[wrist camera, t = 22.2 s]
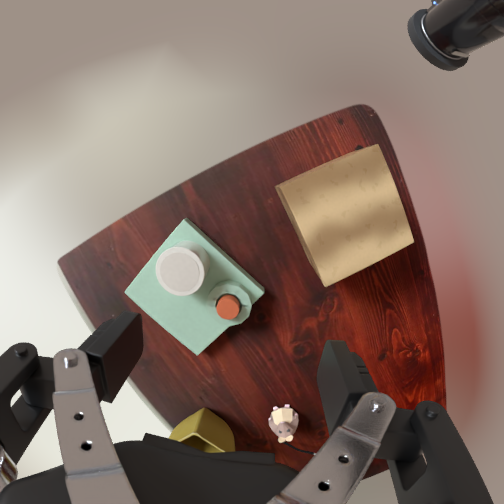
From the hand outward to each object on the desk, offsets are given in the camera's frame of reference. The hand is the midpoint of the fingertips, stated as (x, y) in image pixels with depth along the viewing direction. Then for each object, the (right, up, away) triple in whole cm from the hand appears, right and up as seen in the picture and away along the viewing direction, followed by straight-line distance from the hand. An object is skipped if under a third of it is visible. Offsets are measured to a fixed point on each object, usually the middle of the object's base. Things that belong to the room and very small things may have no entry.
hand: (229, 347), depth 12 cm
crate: (+11, +10, +25) cm, 29 cm away
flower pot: (-7, -26, +34) cm, 44 cm away
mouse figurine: (+7, -26, +34) cm, 43 cm away
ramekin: (-7, +3, +25) cm, 26 cm away
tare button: (-2, -3, +25) cm, 25 cm away
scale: (-7, -1, +28) cm, 29 cm away
